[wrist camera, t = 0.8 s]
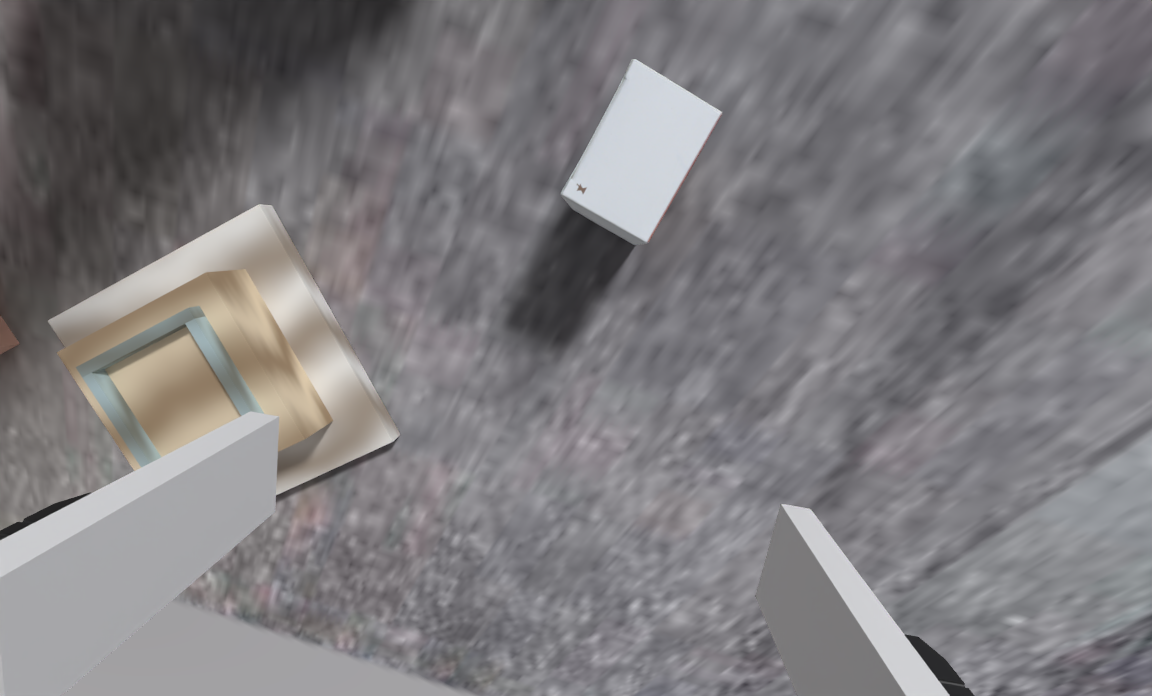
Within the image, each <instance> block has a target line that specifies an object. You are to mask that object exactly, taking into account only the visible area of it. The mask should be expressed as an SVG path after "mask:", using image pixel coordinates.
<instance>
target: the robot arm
mask: <svg viewBox="0 0 1152 696" xmlns="http://www.w3.org/2000/svg"><path fill="white" fill-rule="evenodd" d="M278 435H279V416H274V415H268V414H262V413H257V412H251V411H250V412H248V413H246V414H244V415H242V416H240V417H239V418H237V419H235V420H233V421H231V422H229V423H227V424H225V425H223V426H221V427H219V428H217V429H215V430H213V431H211V432H209V433H208V434H206V435H204V436H202V437H200V438H198V439H196V440H194V441H192V442H190V443H188V444H186V445H184V446H182V447H180V448H178V449H176V450H175V451H173V452H171V453H169V454H167V455H165V456H163V457H161V458H159V459H157V460H155V461H153V462H151V463H149V464H147V465H145V466H144V467H142V468H140V469H138V470H136V471H134V472H132V473H130V474H128V475H126V476H124V477H122V478H120V479H118V480H116V481H114V482H113V483H111V484H109V485H107V486H105V487H103V488H101V489H99V490H97V491H95V492H93V493H87V494H84V495H81V496H77V497H74V498H71V499H68V500H65V501H61V502H58V503H55V504H53V505H51V506H49V507H47V508H45V509H43V510H41V511H39V512H37V513H35V514H33V515H31V516H29V517H27V518H25V519H24V521H23V522H17V523H15V524H13V525H11V526H9V527H7V528H5V529H3V530H1V531H0V696H62V695H63V694H64V693H65V692H66V691H68V690H69V689H70V688H71V687H72V686H73V685H75V684H76V683H77V682H78V681H79V680H80V679H81V678H83V677H84V676H85V675H86V674H87V673H88V672H90V671H91V670H92V669H93V668H94V667H95V666H96V665H98V664H99V663H100V662H101V661H102V660H103V659H105V658H106V657H107V656H108V655H109V654H111V653H112V652H113V651H114V650H115V649H116V648H118V647H119V646H120V645H121V644H122V643H123V642H124V641H126V640H127V639H128V638H129V637H130V636H131V635H133V634H134V633H135V632H136V631H137V630H138V629H139V628H141V627H142V626H143V625H144V624H145V623H146V622H148V621H149V620H150V619H151V618H152V617H153V616H155V615H156V614H157V613H158V612H159V611H160V610H162V609H163V608H164V607H165V606H166V605H167V604H169V603H170V602H171V601H172V600H173V599H174V598H176V597H177V596H178V595H179V594H180V593H181V592H183V591H184V590H185V589H186V588H187V587H188V586H189V585H191V584H192V583H193V582H194V581H195V580H196V579H198V578H199V577H200V576H201V575H202V574H203V573H205V572H206V571H207V570H208V569H209V568H210V567H212V566H213V565H214V564H215V563H216V562H217V561H218V560H220V559H221V558H222V557H223V556H224V555H225V554H227V553H228V552H229V551H230V550H231V549H232V548H234V547H235V546H236V545H237V544H238V543H239V542H241V541H242V540H243V539H244V538H245V537H246V536H248V535H249V534H250V533H251V532H252V531H253V530H254V529H256V528H257V527H258V526H259V525H260V524H261V523H263V522H264V521H265V520H266V519H267V518H268V517H270V516H271V515H272V514H273V513H274V512H275V506H276V482H277V459H278ZM755 597H756V599H757V601H758V604H759V606H760V609H761V611H762V613H763V616H764V618H765V621H766V623H767V625H768V628H769V630H770V633H771V635H772V637H773V640H774V642H775V644H776V647H777V649H778V652H779V654H780V656H781V659H782V661H783V664H784V666H785V668H786V671H787V673H788V676H789V678H790V680H791V683H792V685H793V687H794V690H795V692H796V695H797V696H974V695H973V693H972V692H971V691H970V690H969V688H965V686H964V684H965V683H964V682H963V681H962V680H961V678H960V677H959V676H958V675H957V673H956V672H955V671H954V670H953V668H952V667H951V666H950V665H949V663H948V662H947V661H946V660H945V659H944V658H943V657H942V656H941V655H939V654H938V653H937V652H936V651H935V650H933V649H932V648H931V647H930V646H929V645H927V644H926V643H925V642H924V641H923V640H921V639H920V638H919V637H916V636H910V635H904V634H903V632H902V631H901V630H900V628H899V627H898V626H897V624H896V623H895V622H894V620H893V619H892V618H891V616H890V615H889V614H888V612H887V611H886V610H885V608H884V607H883V606H882V604H881V603H880V602H879V600H878V599H877V598H876V596H875V595H874V594H873V592H872V591H871V589H870V588H869V587H868V585H867V584H866V583H865V581H864V580H863V579H862V577H861V576H860V575H859V573H858V572H857V571H856V569H855V568H854V567H853V565H852V564H851V563H850V561H849V560H848V559H847V557H846V556H845V555H844V553H843V552H842V551H841V549H840V548H839V547H838V545H837V544H836V543H835V541H834V540H833V539H832V537H831V536H830V535H829V533H828V532H827V531H826V529H825V528H824V527H823V525H822V524H821V523H820V521H819V520H818V519H817V517H816V516H815V515H814V513H813V512H812V510H811V509H808V508H802V507H796V506H790V505H785V504H781V505H780V509H779V512H778V516H777V519H776V523H775V527H774V530H773V534H772V538H771V541H770V545H769V548H768V552H767V556H766V559H765V563H764V566H763V570H762V574H761V577H760V581H759V585H758V588H757V592H756V595H755Z"/></svg>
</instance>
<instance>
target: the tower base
mask: <svg viewBox="0 0 1152 696" xmlns="http://www.w3.org/2000/svg"><path fill="white" fill-rule="evenodd" d="M48 322H49V324H50V325H51V327H52V329H53V330H54V332H55V333H56V335H57V336H58V338H59V339H60V341H61V342H62V344H63V345H64V347H65V348H64V349H62V350H61V351H59V352H57V354H58V355H59V357H60V358H61V360H62V362H63V363H64V365H65V366H66V368H67V369H68V371H69V372H70V374H71V375H72V377H73V378H74V380H75V381H76V383H77V384H78V386H79V387H80V389H81V390H82V392H83V393H84V395H85V396H86V398H87V399H88V401H89V403H90V404H91V406H92V407H93V409H94V410H95V412H96V413H97V415H98V416H99V418H100V419H101V421H102V422H103V424H104V425H105V427H106V428H107V430H108V431H109V433H110V434H111V436H112V437H113V439H114V440H115V442H116V444H117V445H118V447H119V448H120V450H121V451H122V453H123V454H124V456H125V457H126V459H127V460H128V462H129V463H130V465H131V466H132V468H133V469H134V471H136V470H138V469H140V468H142V467H144V466H145V465H147V464H149V463H151V462H153V461H155V460H157V459H159V458H161V457H163V456H165V455H167V454H169V453H171V452H173V451H175V450H176V449H178V448H180V447H182V446H184V445H186V444H188V443H190V442H192V441H194V440H196V439H198V438H200V437H202V436H204V435H206V434H208V433H209V432H211V431H213V430H215V429H217V428H219V427H221V426H223V425H225V424H227V423H229V422H231V421H233V420H235V419H237V418H239V417H240V416H242V415H244V414H246V413H248V412H250V411H251V412H257V413H262V414H268V415H274V416H279V435H278V459H277V482H276V495H278V494H280V493H282V492H285V491H287V490H289V489H291V488H293V487H295V486H298V485H300V484H302V483H304V482H306V481H308V480H311V479H313V478H315V477H317V476H319V475H322V474H324V473H326V472H328V471H330V470H332V469H335V468H337V467H339V466H341V465H343V464H345V463H348V462H350V461H352V460H354V459H356V458H359V457H361V456H363V455H365V454H367V453H369V452H372V451H374V450H376V449H378V448H380V447H382V446H385V445H387V444H389V443H391V442H393V441H394V440H395V439H397V438H398V437H399V436H400V433H399V431H398V429H397V427H396V426H395V424H394V422H393V420H392V419H391V417H390V415H389V413H388V411H387V410H386V408H385V406H384V404H383V403H382V401H381V399H380V397H379V395H378V394H377V392H376V390H375V388H374V386H373V385H372V383H371V381H370V379H369V378H368V376H367V374H366V372H365V370H364V369H363V367H362V365H361V363H360V362H359V360H358V358H357V356H356V354H355V353H354V351H353V349H352V347H351V345H350V344H349V342H348V340H347V338H346V337H345V335H344V333H343V331H342V329H341V328H340V326H339V324H338V322H337V321H336V319H335V317H334V315H333V313H332V312H331V310H330V308H329V306H328V304H327V303H326V301H325V299H324V297H323V296H322V294H321V292H320V290H319V288H318V287H317V285H316V283H315V281H314V280H313V278H312V276H311V274H310V272H309V271H308V269H307V267H306V265H305V263H304V262H303V260H302V258H301V256H300V255H299V253H298V251H297V249H296V247H295V246H294V244H293V242H292V240H291V239H290V237H289V235H288V233H287V231H286V230H285V228H284V226H283V224H282V222H281V221H280V219H279V217H278V215H277V214H276V212H275V210H274V208H273V206H271V205H262V204H259V205H257V206H255V207H253V208H252V209H250V210H248V211H246V212H244V213H243V214H241V215H239V216H237V217H235V218H233V219H232V220H230V221H228V222H226V223H224V224H223V225H221V226H219V227H217V228H215V229H213V230H212V231H210V232H208V233H206V234H204V235H203V236H201V237H199V238H197V239H195V240H193V241H192V242H190V243H188V244H186V245H184V246H182V247H181V248H179V249H177V250H175V251H173V252H172V253H170V254H168V255H166V256H164V257H162V258H161V259H159V260H157V261H155V262H153V263H152V264H150V265H148V266H146V267H144V268H142V269H141V270H139V271H137V272H135V273H133V274H132V275H130V276H128V277H126V278H124V279H122V280H121V281H119V282H117V283H115V284H113V285H112V286H110V287H108V288H106V289H104V290H102V291H101V292H99V293H97V294H95V295H93V296H91V297H90V298H88V299H86V300H84V301H82V302H81V303H79V304H77V305H75V306H73V307H71V308H70V309H68V310H66V311H64V312H62V313H61V314H59V315H57V316H55V317H53V318H51V319H50V320H48Z"/></svg>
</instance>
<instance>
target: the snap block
mask: <svg viewBox="0 0 1152 696" xmlns="http://www.w3.org/2000/svg"><path fill="white" fill-rule="evenodd" d="M17 345H19V342H18V341H17V339H16V338H15V336H14V335H13V333H12V332H11V330H10V329H9V327H8V326H7V324H6V323H5V321H4V320H3V318H2V317H1V315H0V354H2V353H4V352H6V351H8V350H9V349H11V348H13V347H15V346H17Z"/></svg>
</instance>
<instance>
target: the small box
mask: <svg viewBox="0 0 1152 696" xmlns="http://www.w3.org/2000/svg"><path fill="white" fill-rule="evenodd" d="M721 115H722V112H721V111H719V110H718V109H716V108H714V107H713V106H711V105H710V104H708V103H706V102H705V101H703V100H701V99H700V98H698V97H697V96H695V95H693V94H692V93H690V92H688V91H687V90H685V89H684V88H682V87H680V86H679V85H677V84H675V83H674V82H672V81H670V80H669V79H667V78H666V77H664V76H662V75H661V74H659V73H657V72H656V71H654V70H652V69H651V68H649V67H647V66H646V65H644V64H643V63H641V62H639V61H638V60H636V59H633V60H632V61H631V62H630V64H629V66H628V69H627V71H626V73H625V75H624V77H623V79H622V81H621V83H620V85H619V87H618V89H617V91H616V93H615V95H614V97H613V99H612V101H611V103H610V105H609V106H608V108H607V110H606V112H605V114H604V116H603V118H602V120H601V121H600V123H599V125H598V127H597V129H596V131H595V133H594V135H593V137H592V138H591V140H590V142H589V144H588V146H587V148H586V149H585V151H584V153H583V155H582V157H581V159H580V161H579V163H578V164H577V166H576V168H575V169H574V171H573V173H572V175H571V176H570V178H569V180H568V181H567V183H566V185H565V186H564V188H563V190H562V191H561V196H562V197H563V199H564V200H565V201H566V202H567V203H568V204H569V206H570V207H571V208H572V209H573V210H574V211H576V212H578V213H580V214H581V215H583V216H584V217H586V218H588V219H589V220H591V221H593V222H595V223H596V224H598V225H600V226H601V227H603V228H605V229H607V230H609V231H610V232H612V233H614V234H616V235H617V236H619V237H621V238H623V239H624V240H626V241H628V242H630V243H631V244H633V245H641V244H646V243H648V242H649V241H650V239H651V237H652V235H653V234H654V232H655V230H656V228H657V227H658V225H659V223H660V221H661V220H662V218H663V216H664V215H665V213H666V211H667V209H668V208H669V206H670V204H671V202H672V201H673V199H674V197H675V196H676V194H677V192H678V190H679V189H680V187H681V185H682V184H683V182H684V180H685V179H686V177H687V175H688V173H689V172H690V170H691V168H692V166H693V164H694V163H695V161H696V159H697V157H698V156H699V154H700V152H701V150H702V149H703V147H704V145H705V143H706V142H707V140H708V138H709V136H710V135H711V133H712V131H713V129H714V128H715V126H716V124H717V122H718V121H719V119H720V117H721Z"/></svg>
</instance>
